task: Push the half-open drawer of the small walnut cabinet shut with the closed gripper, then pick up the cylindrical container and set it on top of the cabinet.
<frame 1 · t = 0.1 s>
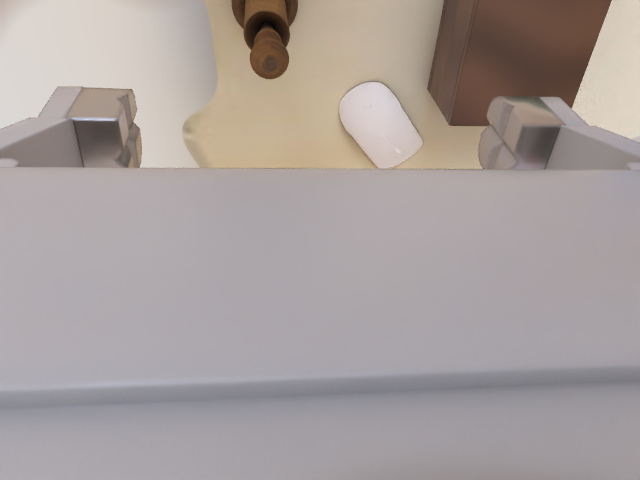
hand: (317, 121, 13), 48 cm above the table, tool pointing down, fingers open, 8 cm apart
white curved flat piece: (381, 125, 67), on the table
cabinet: (495, 26, 61), on the table
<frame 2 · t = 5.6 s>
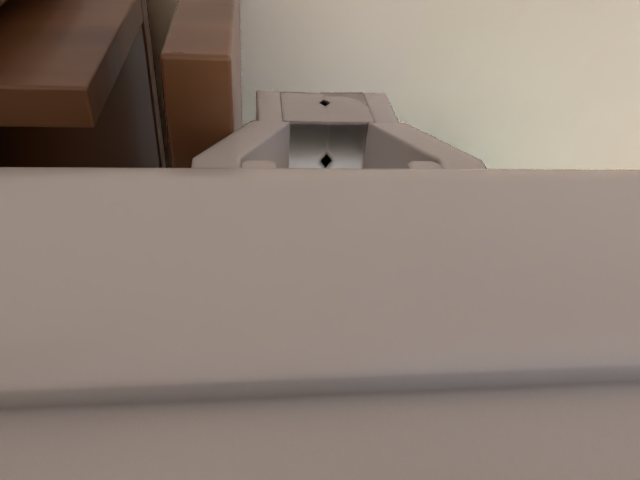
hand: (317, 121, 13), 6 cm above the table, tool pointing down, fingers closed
drawer: (9, 207, 15), point 5 cm above the table, slide at 3.3 cm, touching gripper
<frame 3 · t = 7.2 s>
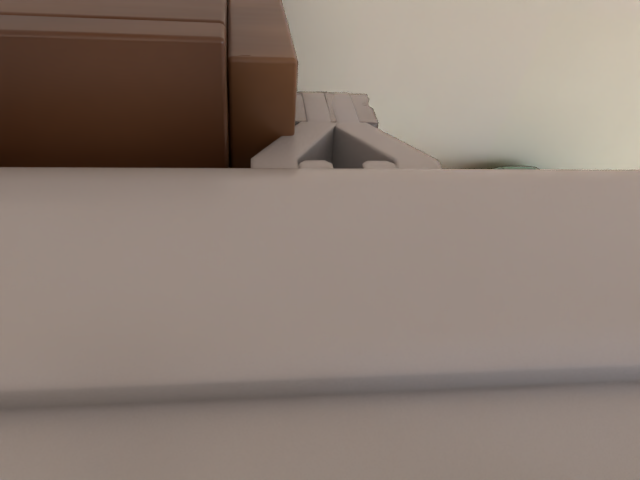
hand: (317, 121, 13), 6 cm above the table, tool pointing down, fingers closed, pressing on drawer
drawer: (42, 216, 15), point 5 cm above the table, slide at 0.0 cm, touching cabinet, gripper
cabinet: (2, 135, 18), on the table
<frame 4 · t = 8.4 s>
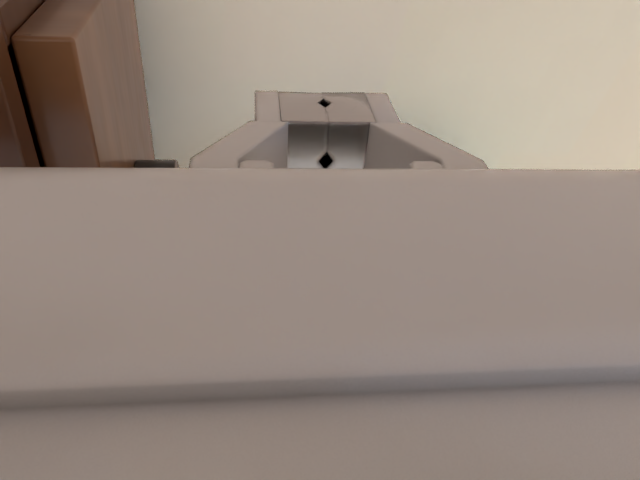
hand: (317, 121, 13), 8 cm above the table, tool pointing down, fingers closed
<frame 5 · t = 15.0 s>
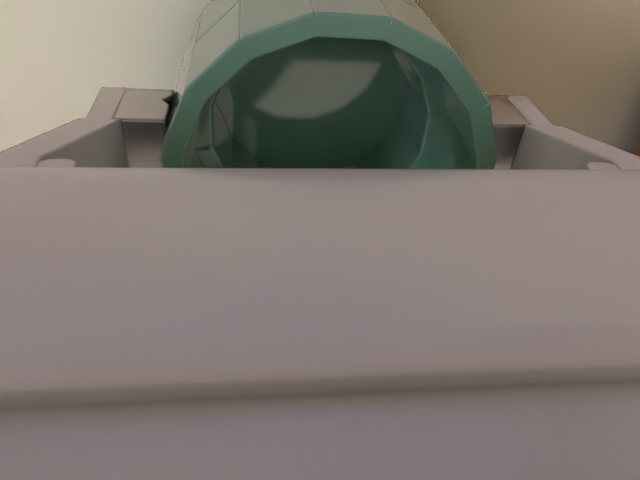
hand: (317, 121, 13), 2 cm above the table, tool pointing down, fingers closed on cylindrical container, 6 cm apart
cylindrical container: (310, 83, 15), on the table, touching gripper
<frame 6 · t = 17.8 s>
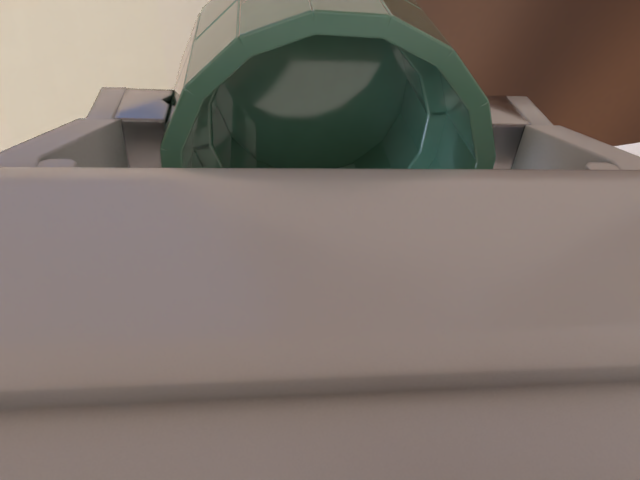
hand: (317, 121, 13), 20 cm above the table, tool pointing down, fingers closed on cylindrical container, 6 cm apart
cylindrical container: (310, 82, 15), point 17 cm above the table, touching gripper
when the fingers open (11 cm above the table, at t = 21.1 s): cylindrical container stays where it is, resting on cabinet.
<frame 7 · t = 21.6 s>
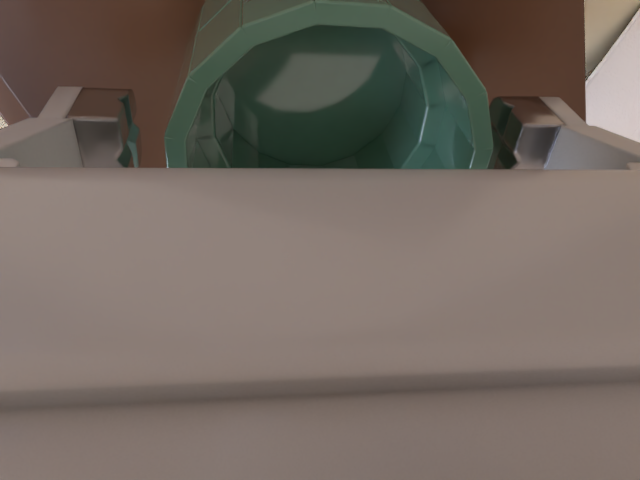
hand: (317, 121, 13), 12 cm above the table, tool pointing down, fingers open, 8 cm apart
white curved flat piece: (596, 122, 27), on the table
cylindrical container: (310, 75, 15), point 9 cm above the table, touching cabinet
drawer: (230, 46, 19), point 5 cm above the table, slide at 0.0 cm, touching cabinet
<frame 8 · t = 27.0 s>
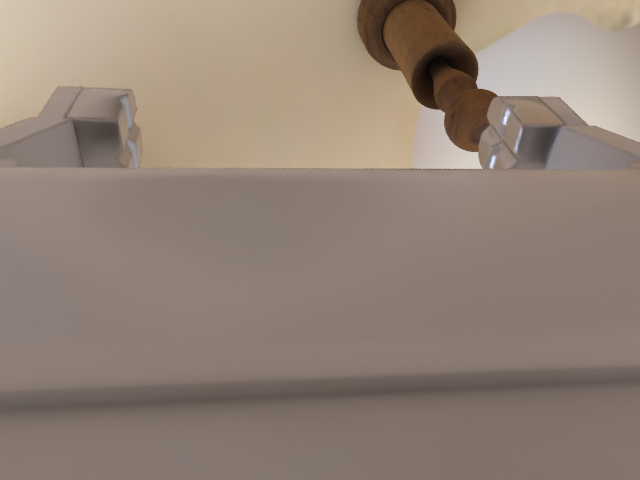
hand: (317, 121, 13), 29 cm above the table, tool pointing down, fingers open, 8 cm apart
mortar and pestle: (401, 15, 41), on the table
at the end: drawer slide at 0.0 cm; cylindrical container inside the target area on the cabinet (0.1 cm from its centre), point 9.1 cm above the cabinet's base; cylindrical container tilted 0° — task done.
